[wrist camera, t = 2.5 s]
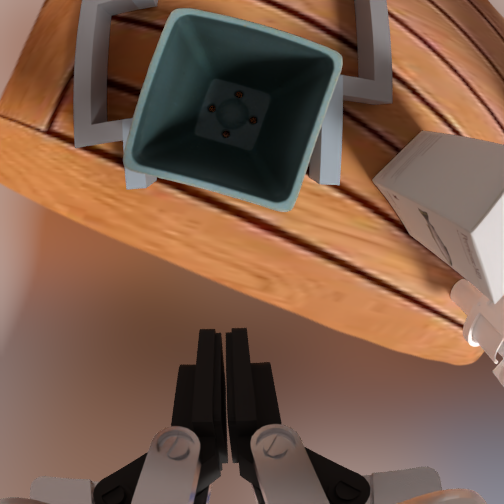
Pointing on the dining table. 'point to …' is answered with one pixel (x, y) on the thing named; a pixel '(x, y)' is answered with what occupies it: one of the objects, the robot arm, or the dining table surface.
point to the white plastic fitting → (482, 322)
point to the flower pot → (231, 107)
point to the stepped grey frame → (100, 131)
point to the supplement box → (452, 203)
